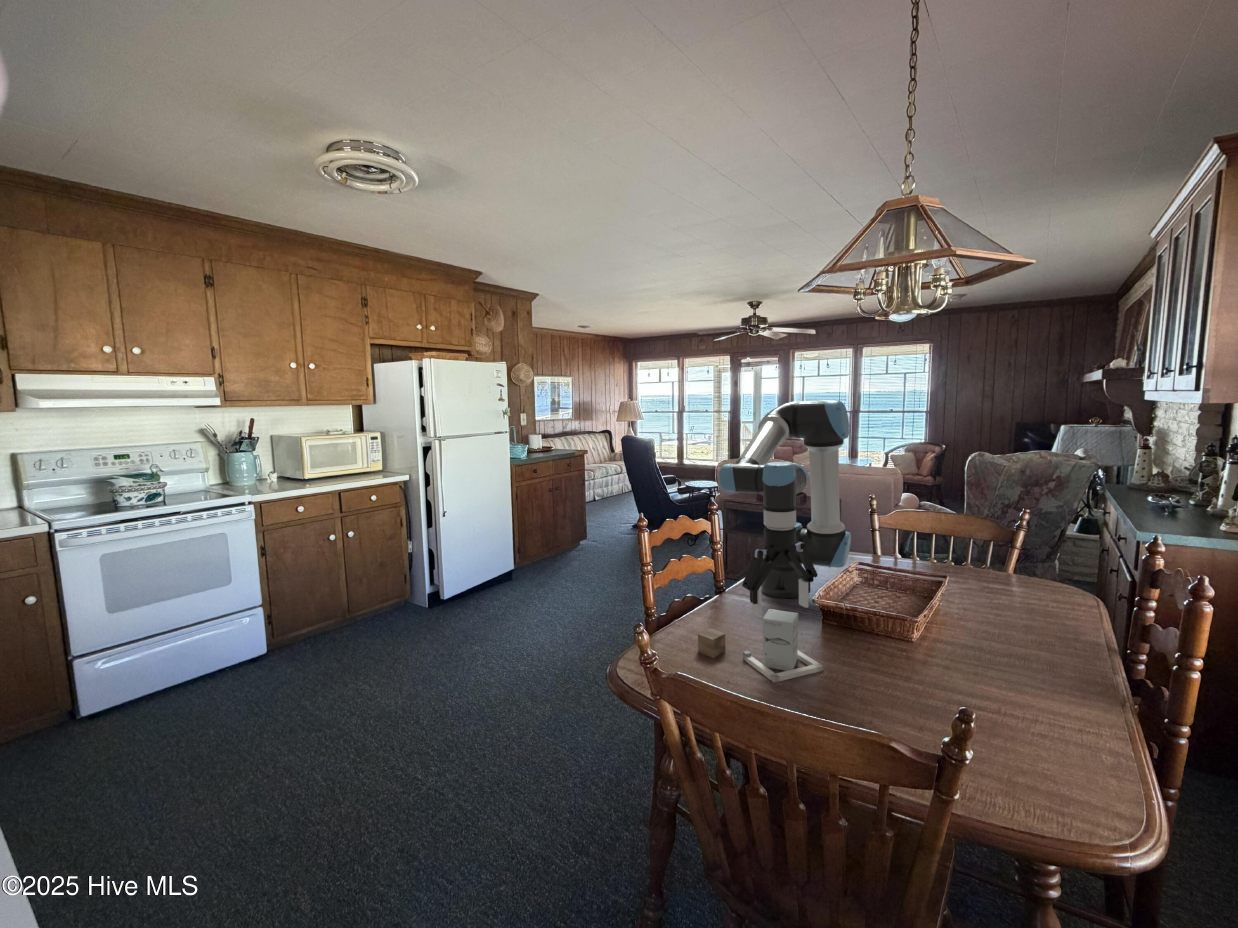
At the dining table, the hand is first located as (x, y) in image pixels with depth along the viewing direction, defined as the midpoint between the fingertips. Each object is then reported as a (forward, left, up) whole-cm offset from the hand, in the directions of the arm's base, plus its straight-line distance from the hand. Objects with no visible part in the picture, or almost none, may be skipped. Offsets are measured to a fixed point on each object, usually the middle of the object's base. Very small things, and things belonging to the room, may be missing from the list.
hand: (780, 610), depth 136 cm
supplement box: (0, 0, -14) cm, 14 cm away
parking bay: (0, 0, -14) cm, 14 cm away
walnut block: (+12, -13, -14) cm, 22 cm away
